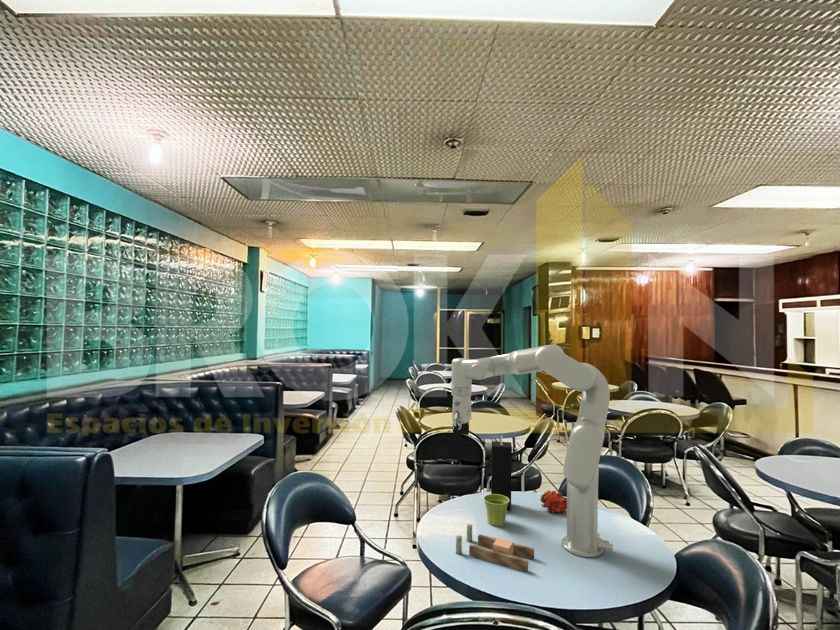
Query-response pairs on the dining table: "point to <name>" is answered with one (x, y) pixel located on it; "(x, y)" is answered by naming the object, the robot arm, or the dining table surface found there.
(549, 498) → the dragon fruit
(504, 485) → the tall black pillar
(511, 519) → the dining table surface
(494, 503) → the plant pot
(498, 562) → the chute
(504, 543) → the block
